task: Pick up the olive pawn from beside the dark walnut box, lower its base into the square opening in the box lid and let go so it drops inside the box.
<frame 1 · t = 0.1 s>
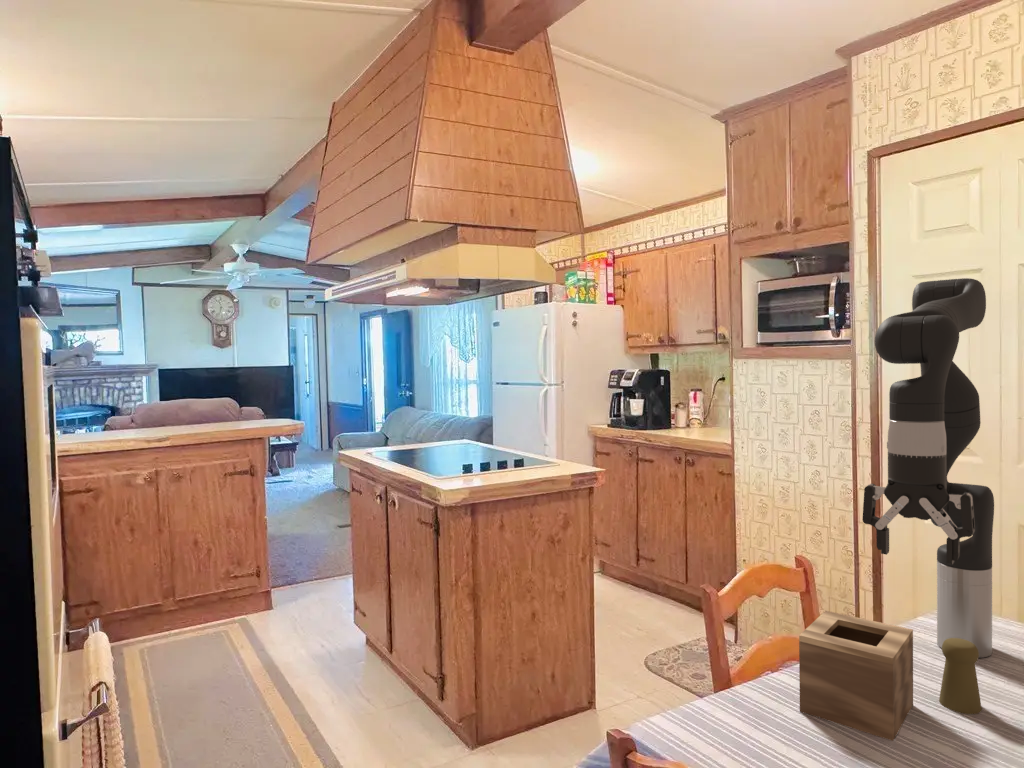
hand: (916, 557, 101), 29 cm above the table, tool pointing down, fingers open, 8 cm apart
walnut box: (856, 708, 114), on the table
olive pawn: (960, 705, 114), on the table
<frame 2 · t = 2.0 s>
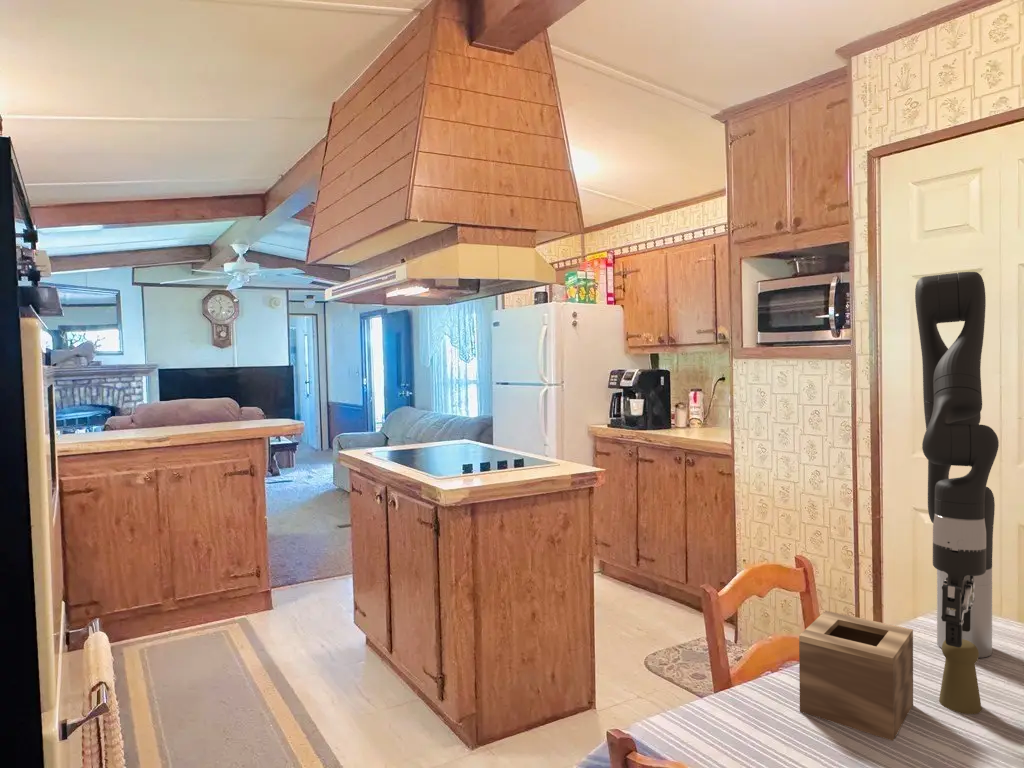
hand: (958, 637, 114), 12 cm above the table, tool pointing down, fingers open, 8 cm apart
nothing on the table moved.
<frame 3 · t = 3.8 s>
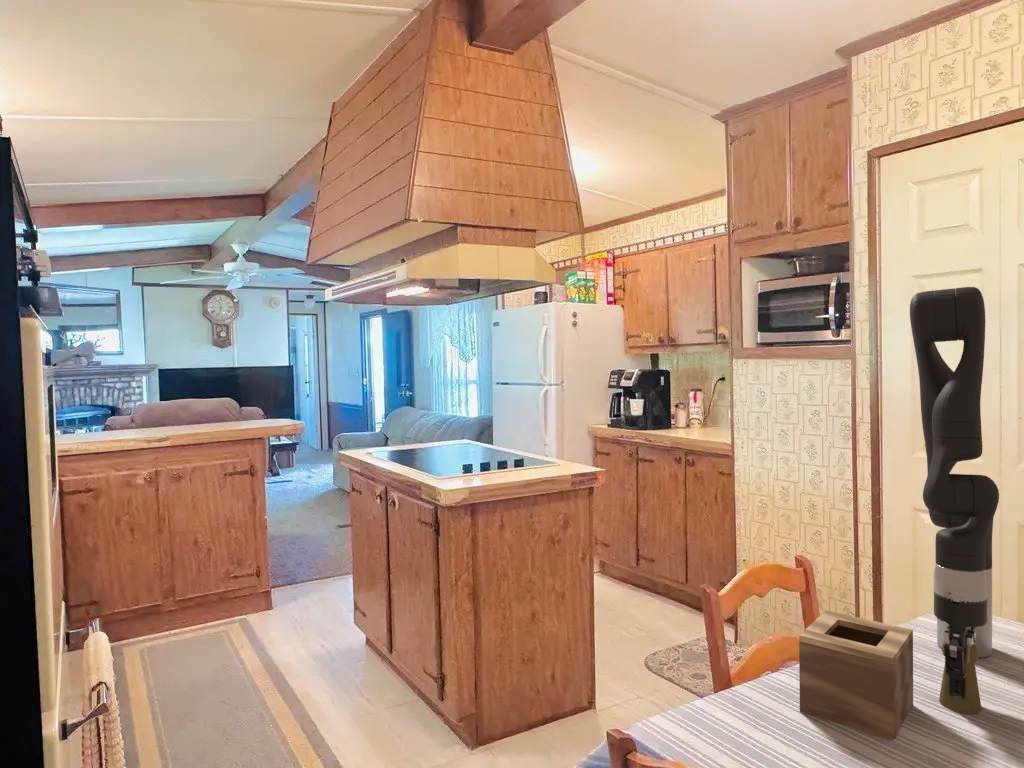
hand: (959, 691, 114), 2 cm above the table, tool pointing down, fingers closed on olive pawn, 4 cm apart
olive pawn: (959, 705, 114), on the table, touching gripper
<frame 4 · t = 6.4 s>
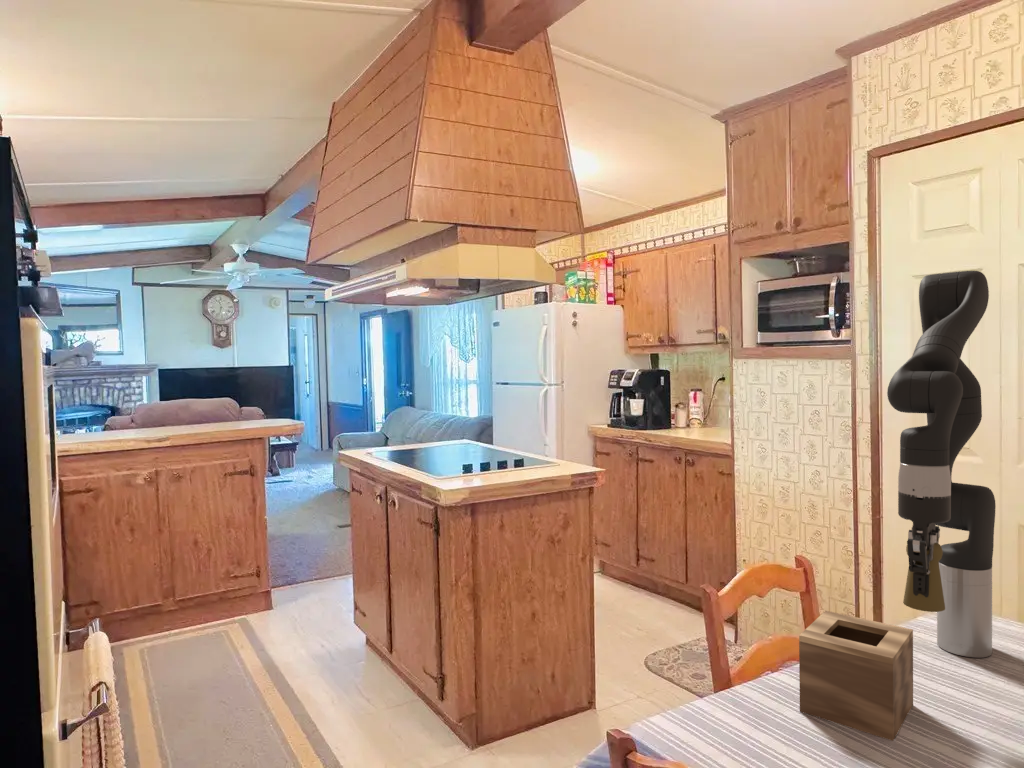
hand: (923, 591, 113), 20 cm above the table, tool pointing down, fingers closed on olive pawn, 4 cm apart
olive pawn: (923, 606, 113), point 17 cm above the table, touching gripper
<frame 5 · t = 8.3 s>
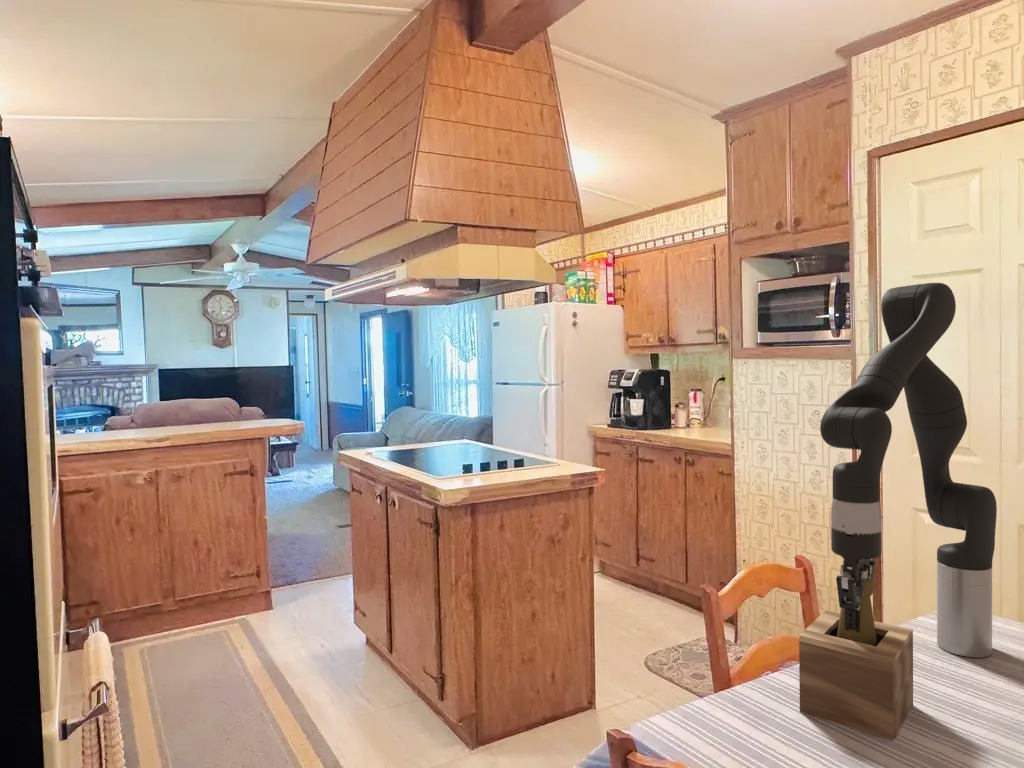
hand: (856, 626, 114), 14 cm above the table, tool pointing down, fingers closed on olive pawn, 4 cm apart
olive pawn: (856, 640, 114), point 12 cm above the table, touching gripper
when the fingers open (14 cm above the table, at t = 9.1 s): olive pawn drops 11 cm, resting in walnut box.
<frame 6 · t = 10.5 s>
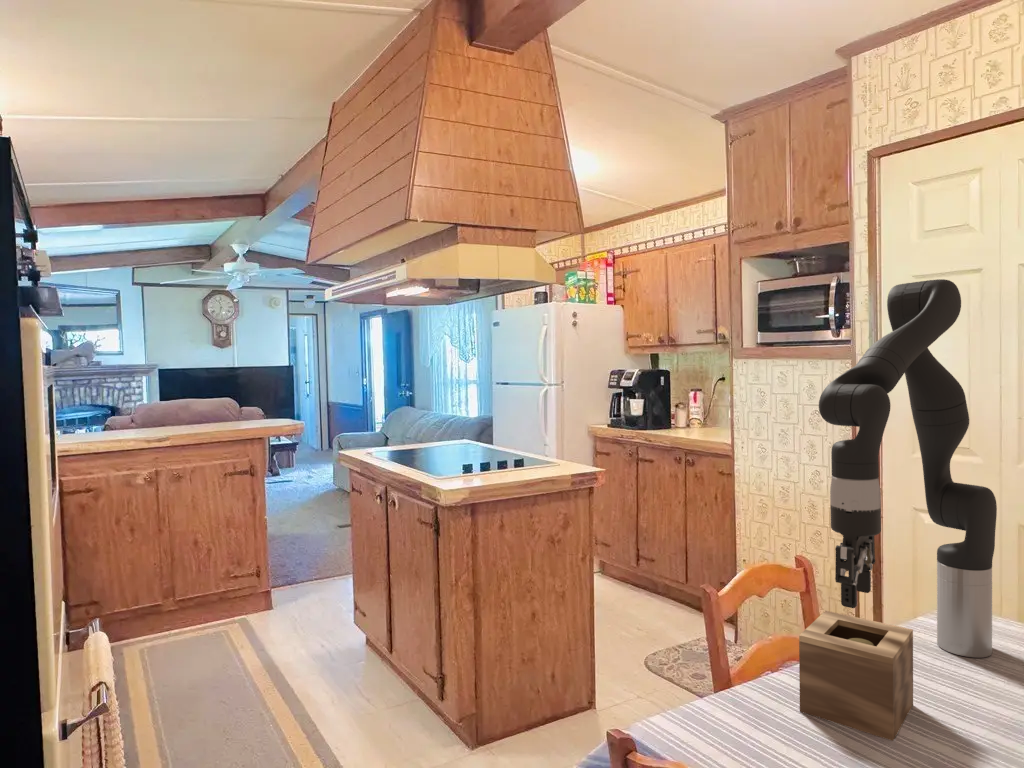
hand: (856, 599, 113), 19 cm above the table, tool pointing down, fingers open, 8 cm apart
olive pawn: (862, 705, 115), resting in walnut box
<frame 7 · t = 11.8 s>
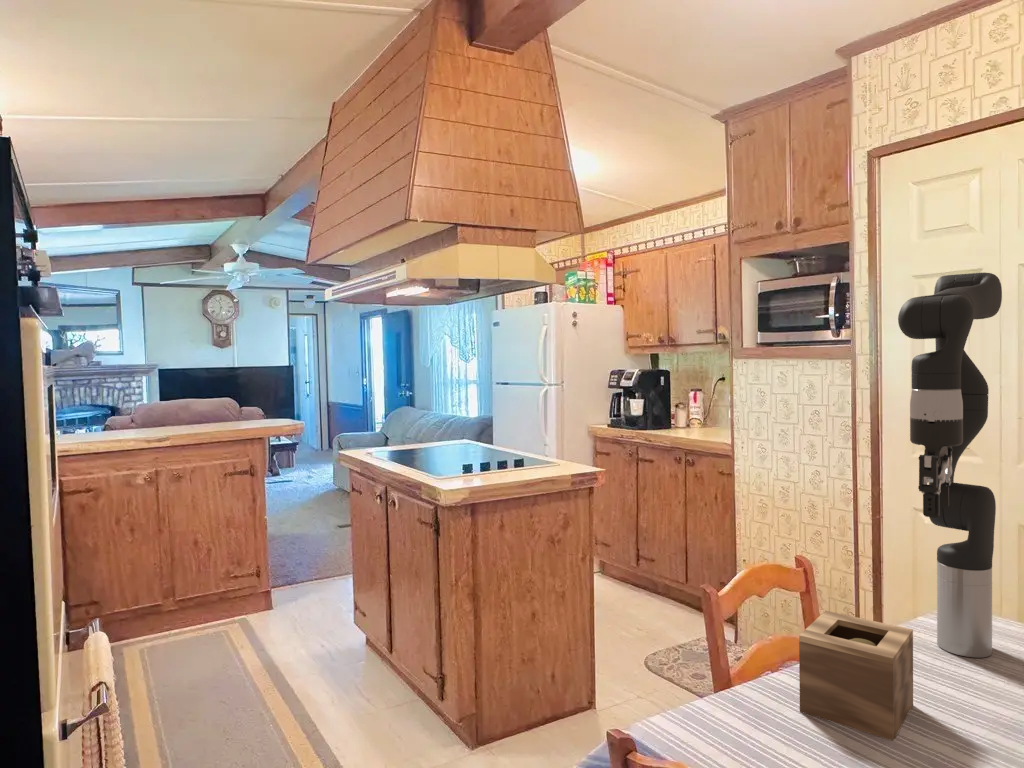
hand: (936, 511, 114), 33 cm above the table, tool pointing down, fingers open, 8 cm apart
nothing on the table moved.
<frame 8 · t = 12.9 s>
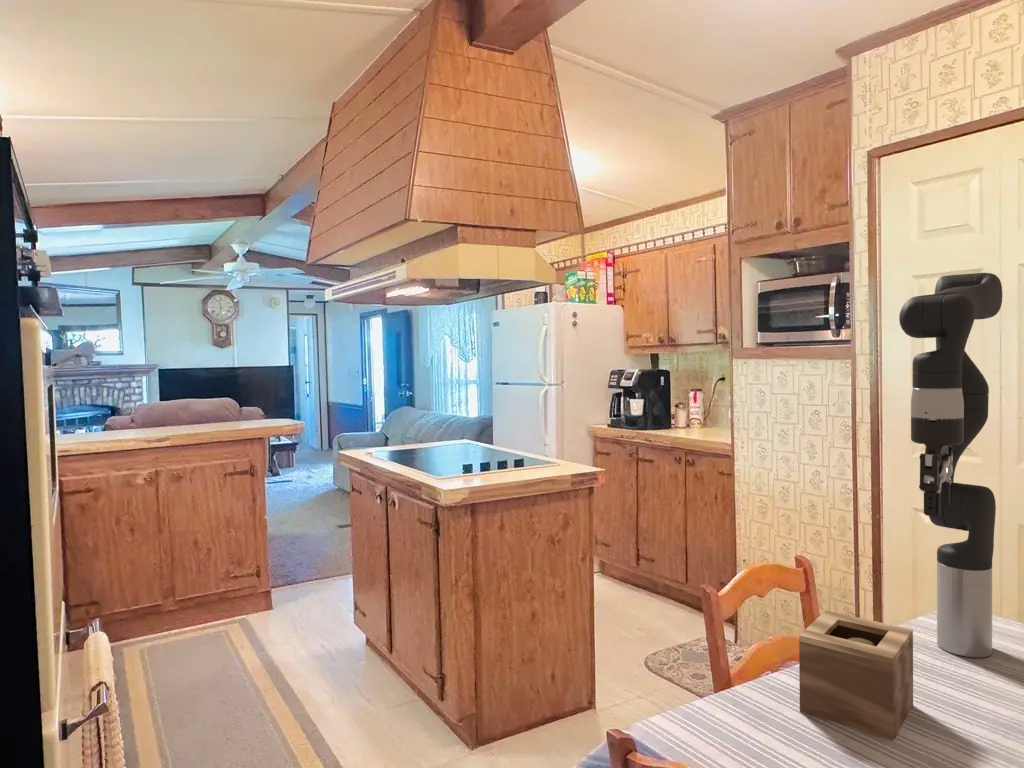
hand: (936, 510, 114), 33 cm above the table, tool pointing down, fingers open, 8 cm apart
nothing on the table moved.
at the end: olive pawn inside the target area on the walnut box (1.9 cm from its centre), point 0.0 cm above the walnut box's base; the gripper is holding nothing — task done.
